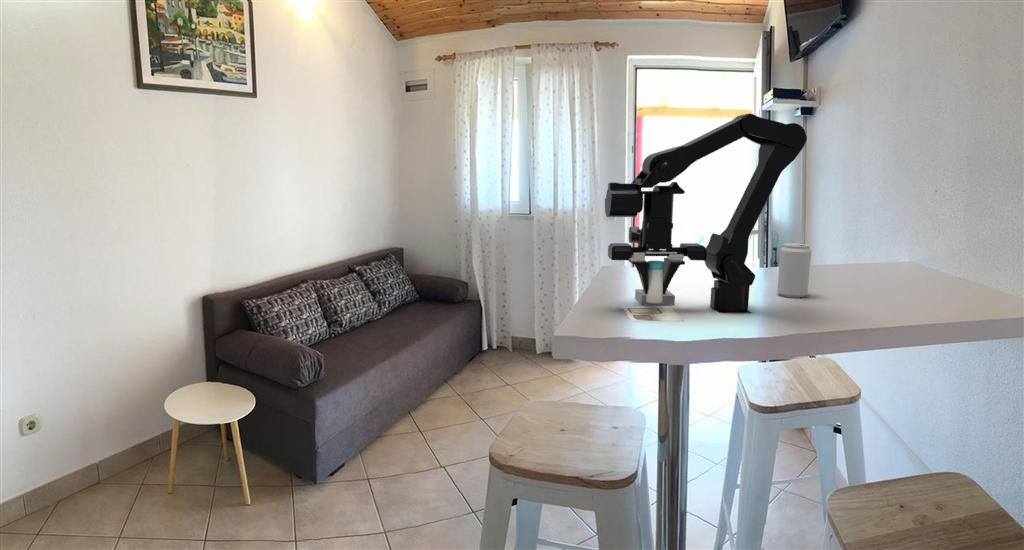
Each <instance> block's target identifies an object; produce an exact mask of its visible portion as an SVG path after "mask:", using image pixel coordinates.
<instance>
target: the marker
mask: <svg viewBox="0 0 1024 550" xmlns="http://www.w3.org/2000/svg"><path fill="white" fill-rule="evenodd" d="M647 262H648V292H647V294H646V302H649V303H662V297H663V275H664V260H647Z"/></svg>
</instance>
